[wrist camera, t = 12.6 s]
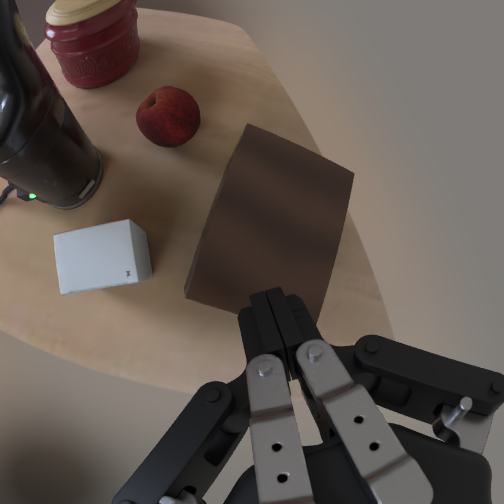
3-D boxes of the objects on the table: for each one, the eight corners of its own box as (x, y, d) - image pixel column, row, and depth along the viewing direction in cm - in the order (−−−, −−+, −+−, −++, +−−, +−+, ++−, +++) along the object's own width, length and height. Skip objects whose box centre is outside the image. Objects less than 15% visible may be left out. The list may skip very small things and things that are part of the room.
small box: (146, 231, 32) (131, 216, 22) (153, 277, 32) (141, 282, 22) (87, 242, 30) (51, 232, 20) (93, 287, 30) (59, 295, 19)
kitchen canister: (54, 93, 28) (14, 22, 11) (82, 38, 29) (64, -32, 12) (127, 89, 31) (111, -1, 14) (149, 34, 32) (150, -47, 15)
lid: (245, 126, 26) (247, 122, 25) (350, 175, 29) (354, 173, 28) (184, 296, 24) (184, 297, 23) (309, 332, 27) (313, 334, 26)
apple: (164, 99, 33) (163, 64, 25) (209, 125, 34) (218, 92, 27) (131, 138, 32) (120, 107, 24) (177, 166, 33) (177, 139, 25)
